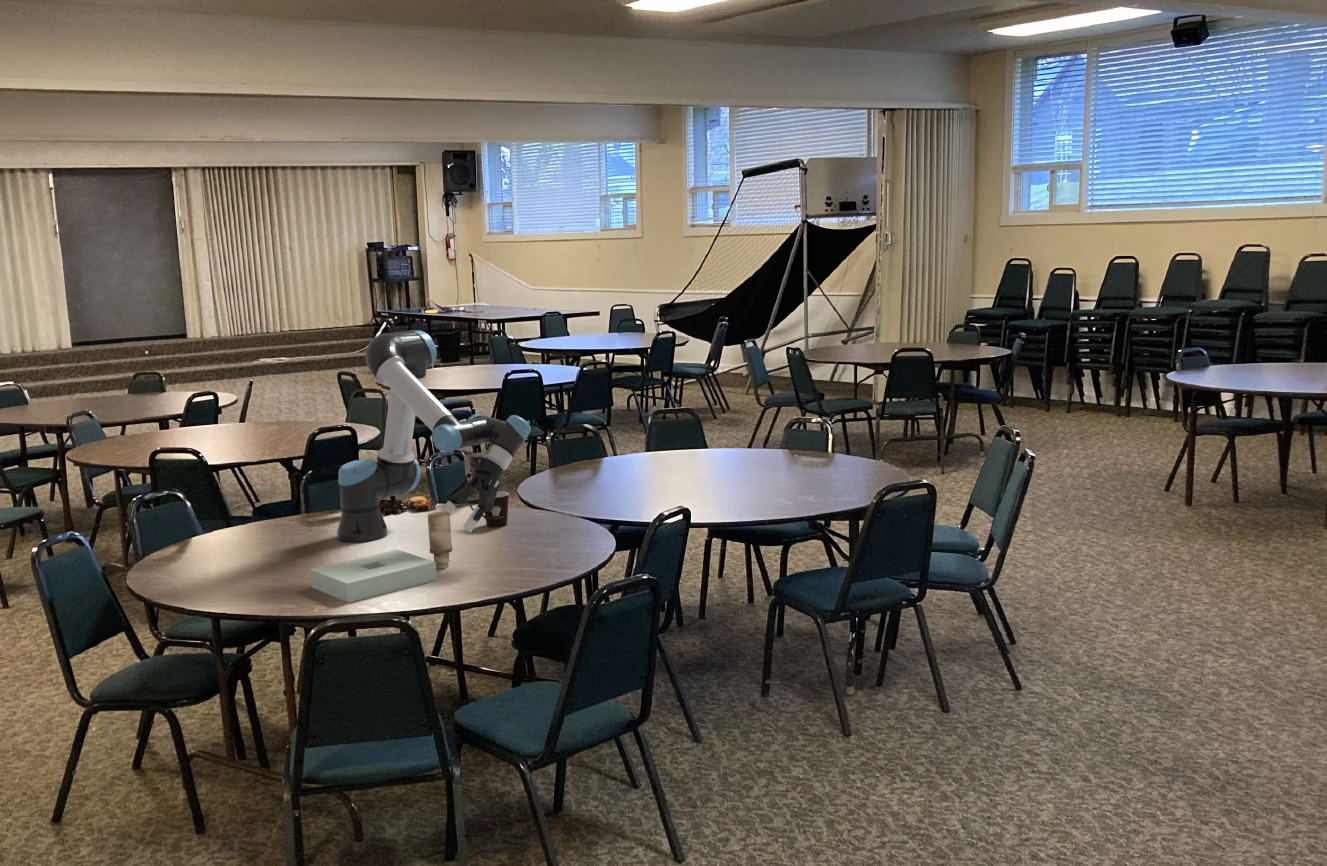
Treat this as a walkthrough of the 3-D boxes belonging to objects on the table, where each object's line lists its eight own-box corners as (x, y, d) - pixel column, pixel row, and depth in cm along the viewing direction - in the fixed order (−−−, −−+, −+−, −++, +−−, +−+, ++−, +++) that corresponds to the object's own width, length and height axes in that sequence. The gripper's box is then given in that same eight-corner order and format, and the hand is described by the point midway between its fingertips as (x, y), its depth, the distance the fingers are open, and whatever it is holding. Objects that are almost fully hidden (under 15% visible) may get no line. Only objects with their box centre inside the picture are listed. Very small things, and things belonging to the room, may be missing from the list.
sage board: (311, 587, 307) (310, 569, 306) (398, 566, 324) (396, 549, 323) (348, 602, 292) (347, 583, 291) (437, 579, 310) (435, 561, 309)
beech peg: (426, 567, 322) (423, 514, 320) (445, 562, 327) (442, 510, 324) (438, 571, 318) (435, 518, 316) (457, 566, 322) (454, 514, 320)
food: (378, 519, 386) (377, 508, 385) (369, 509, 403) (368, 499, 402) (443, 511, 394) (442, 501, 394) (432, 501, 411) (431, 491, 411)
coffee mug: (515, 522, 372) (513, 492, 370) (503, 529, 364) (501, 498, 362) (482, 521, 375) (481, 490, 374) (470, 527, 367) (468, 496, 366)
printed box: (498, 498, 409) (495, 453, 407) (488, 502, 403) (485, 456, 401) (476, 496, 413) (473, 452, 410) (466, 500, 407) (463, 455, 405)
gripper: (528, 476, 323) (487, 540, 315) (476, 467, 341) (437, 526, 333) (511, 461, 319) (469, 525, 311) (460, 452, 337) (419, 512, 329)
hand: (452, 526), depth 322 cm, fingers open, 13 cm apart
